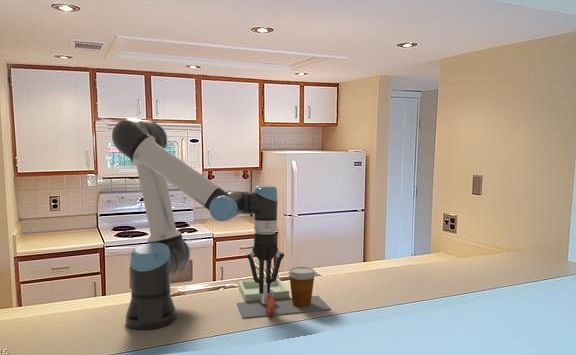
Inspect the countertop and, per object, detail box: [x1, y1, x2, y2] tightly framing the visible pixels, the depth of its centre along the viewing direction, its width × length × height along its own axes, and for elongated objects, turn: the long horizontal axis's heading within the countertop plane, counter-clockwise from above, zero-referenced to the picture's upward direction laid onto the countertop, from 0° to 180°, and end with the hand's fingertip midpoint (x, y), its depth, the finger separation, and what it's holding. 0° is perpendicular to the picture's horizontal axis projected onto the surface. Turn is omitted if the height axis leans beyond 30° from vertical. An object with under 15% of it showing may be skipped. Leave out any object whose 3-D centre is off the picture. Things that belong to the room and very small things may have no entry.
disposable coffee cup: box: [287, 266, 317, 307], centre depth 146 cm, size 10×10×12 cm
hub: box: [259, 289, 273, 305], centre depth 149 cm, size 19×5×4 cm, turn 105°
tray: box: [238, 277, 290, 302], centre depth 158 cm, size 16×16×3 cm
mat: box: [236, 295, 332, 319], centre depth 144 cm, size 30×14×1 cm, turn 105°
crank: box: [265, 293, 274, 317], centre depth 139 cm, size 10×2×6 cm, turn 10°
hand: (264, 302), depth 140 cm, fingers closed
